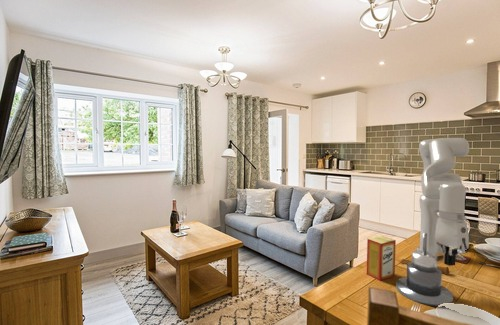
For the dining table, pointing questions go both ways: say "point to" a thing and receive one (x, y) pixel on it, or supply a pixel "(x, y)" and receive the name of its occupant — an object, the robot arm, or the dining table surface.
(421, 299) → the grey stepped cylinder
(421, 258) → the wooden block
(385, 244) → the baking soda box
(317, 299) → the dining table surface
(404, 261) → the primitive tool
